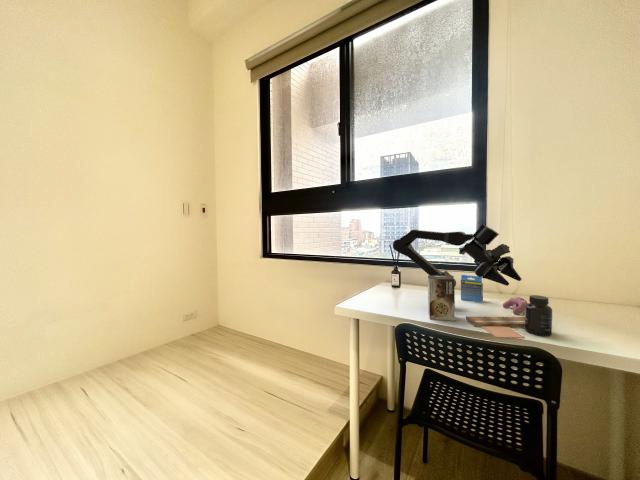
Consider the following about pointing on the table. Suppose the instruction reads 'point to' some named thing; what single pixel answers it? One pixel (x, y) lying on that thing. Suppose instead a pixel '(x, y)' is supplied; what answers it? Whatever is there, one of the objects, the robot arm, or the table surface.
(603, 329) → the table surface
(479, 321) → the walnut board
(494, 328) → the end pad
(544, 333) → the supplement bottle
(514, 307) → the video game controller
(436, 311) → the coffee box
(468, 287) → the label tape box
